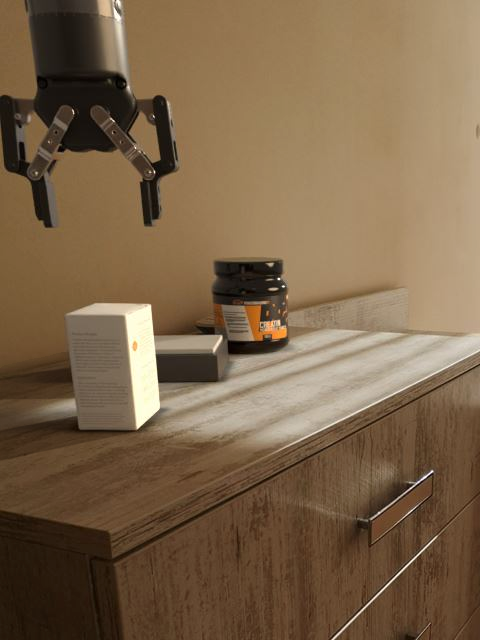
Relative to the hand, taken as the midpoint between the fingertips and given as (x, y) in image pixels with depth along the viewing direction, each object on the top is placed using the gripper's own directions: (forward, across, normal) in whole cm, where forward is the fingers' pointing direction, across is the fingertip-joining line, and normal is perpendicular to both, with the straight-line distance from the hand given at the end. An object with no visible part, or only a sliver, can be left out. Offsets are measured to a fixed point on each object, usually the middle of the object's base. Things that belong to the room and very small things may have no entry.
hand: (100, 227), depth 72 cm
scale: (+18, 0, -23) cm, 29 cm away
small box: (+18, 0, 0) cm, 18 cm away
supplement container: (+18, -10, -39) cm, 44 cm away
